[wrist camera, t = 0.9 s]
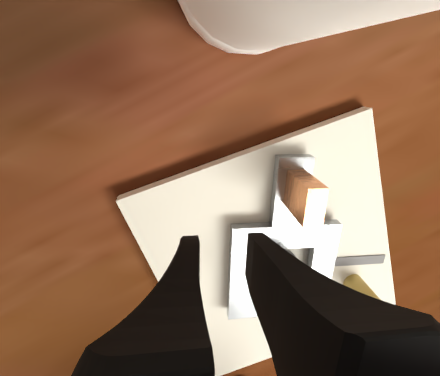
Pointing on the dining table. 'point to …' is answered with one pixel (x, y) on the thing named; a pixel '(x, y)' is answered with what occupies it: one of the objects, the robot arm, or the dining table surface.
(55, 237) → the dining table surface
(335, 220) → the grey metal bracket
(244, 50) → the bottle
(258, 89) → the dining table surface
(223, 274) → the base board
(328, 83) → the dining table surface
